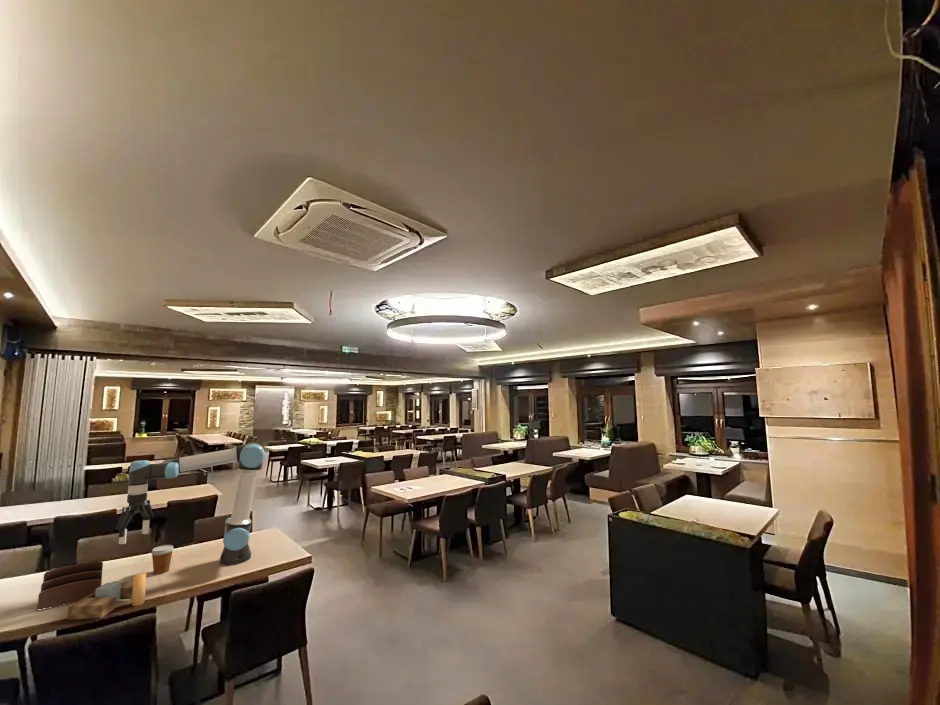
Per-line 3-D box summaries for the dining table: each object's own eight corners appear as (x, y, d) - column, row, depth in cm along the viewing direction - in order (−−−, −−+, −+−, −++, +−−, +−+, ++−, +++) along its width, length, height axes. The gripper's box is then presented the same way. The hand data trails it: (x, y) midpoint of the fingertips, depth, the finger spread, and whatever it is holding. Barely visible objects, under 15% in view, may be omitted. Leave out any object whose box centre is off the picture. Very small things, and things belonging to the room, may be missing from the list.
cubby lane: (142, 591, 190) (142, 580, 190) (101, 618, 167) (102, 605, 168) (112, 592, 189) (113, 581, 190) (67, 619, 167) (68, 606, 167)
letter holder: (41, 602, 181) (44, 569, 182) (101, 589, 193) (103, 558, 195) (36, 612, 173) (39, 577, 175) (99, 597, 185) (101, 564, 187)
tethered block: (148, 599, 182) (150, 571, 183) (138, 606, 176) (140, 577, 177) (106, 601, 181) (108, 573, 182) (94, 608, 175) (96, 579, 176)
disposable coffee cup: (160, 576, 206) (161, 551, 207) (144, 575, 207) (146, 550, 209) (177, 568, 215) (178, 545, 216) (162, 567, 217) (163, 544, 218)
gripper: (149, 487, 210) (146, 530, 208) (107, 499, 185) (103, 548, 183) (164, 487, 210) (161, 529, 208) (123, 499, 185) (120, 548, 183)
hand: (134, 538), depth 195 cm, fingers open, 13 cm apart
